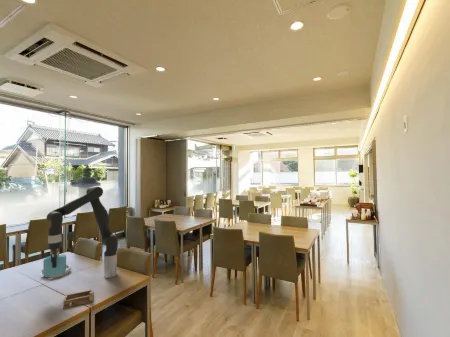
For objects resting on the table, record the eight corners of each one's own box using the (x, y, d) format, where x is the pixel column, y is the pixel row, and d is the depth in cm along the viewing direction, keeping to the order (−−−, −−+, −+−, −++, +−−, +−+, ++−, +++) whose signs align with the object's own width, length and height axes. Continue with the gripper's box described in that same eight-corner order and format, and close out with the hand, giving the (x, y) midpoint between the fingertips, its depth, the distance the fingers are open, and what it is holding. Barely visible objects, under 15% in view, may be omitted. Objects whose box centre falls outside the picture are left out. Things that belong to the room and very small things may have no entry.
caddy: (66, 298, 159) (66, 289, 159) (93, 292, 166) (93, 284, 166) (62, 309, 147) (62, 299, 147) (92, 302, 154) (92, 293, 154)
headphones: (35, 277, 191) (56, 282, 187) (36, 267, 191) (57, 272, 187) (56, 268, 209) (75, 272, 205) (57, 259, 209) (76, 264, 205)
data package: (66, 271, 165) (66, 254, 166) (64, 273, 161) (64, 256, 161) (45, 274, 161) (45, 256, 161) (43, 277, 157) (43, 258, 157)
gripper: (59, 243, 157) (59, 269, 156) (63, 237, 169) (63, 261, 169) (45, 244, 153) (45, 271, 153) (50, 239, 166) (50, 263, 166)
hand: (55, 266), depth 161 cm, fingers closed on data package, 4 cm apart
